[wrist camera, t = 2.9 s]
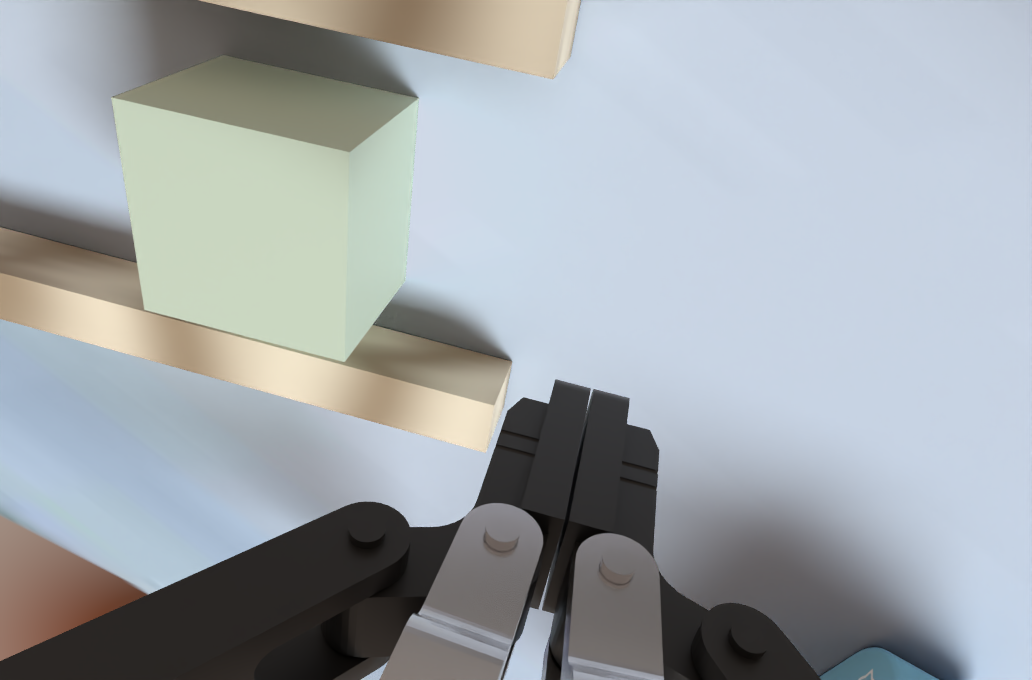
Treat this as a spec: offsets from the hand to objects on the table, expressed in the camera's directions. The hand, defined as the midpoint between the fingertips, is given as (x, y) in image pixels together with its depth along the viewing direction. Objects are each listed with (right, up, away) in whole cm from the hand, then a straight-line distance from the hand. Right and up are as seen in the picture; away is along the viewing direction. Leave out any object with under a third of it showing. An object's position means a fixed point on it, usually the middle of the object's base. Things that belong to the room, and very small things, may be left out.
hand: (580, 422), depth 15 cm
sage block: (-7, +7, +8) cm, 13 cm away
